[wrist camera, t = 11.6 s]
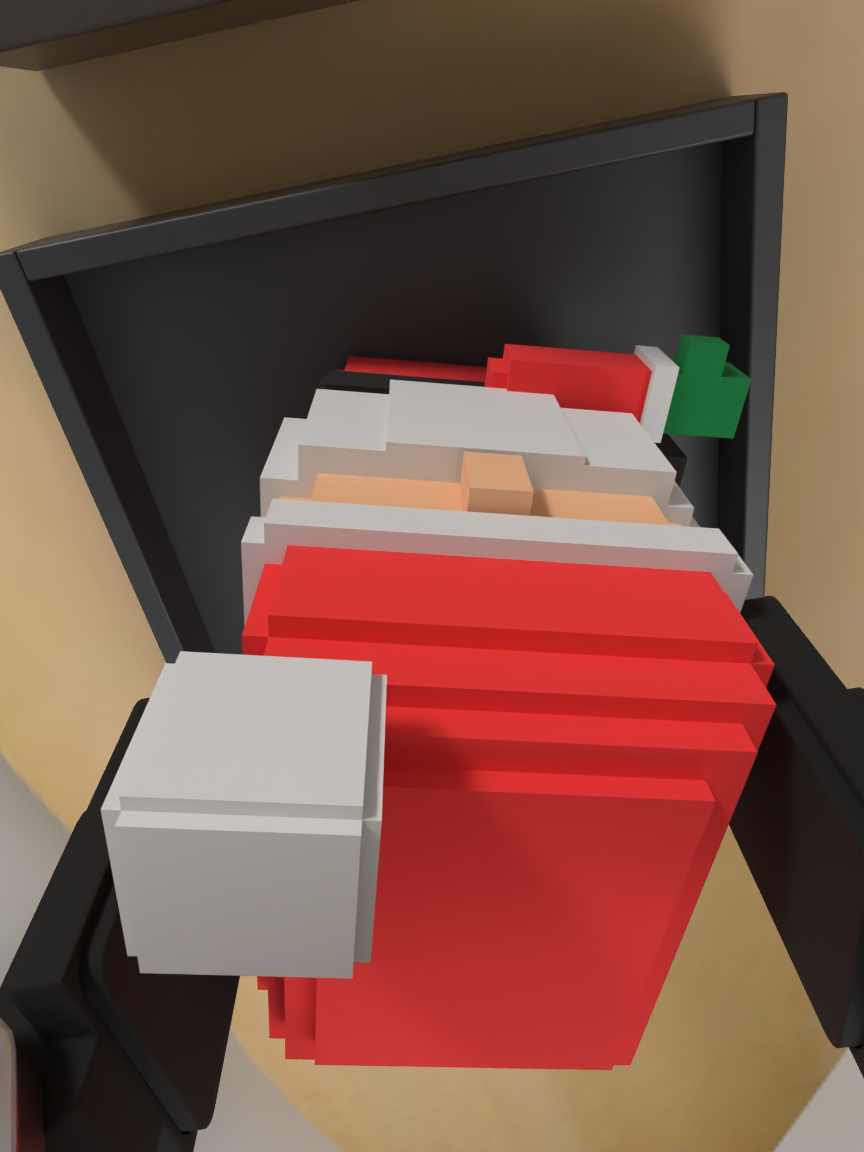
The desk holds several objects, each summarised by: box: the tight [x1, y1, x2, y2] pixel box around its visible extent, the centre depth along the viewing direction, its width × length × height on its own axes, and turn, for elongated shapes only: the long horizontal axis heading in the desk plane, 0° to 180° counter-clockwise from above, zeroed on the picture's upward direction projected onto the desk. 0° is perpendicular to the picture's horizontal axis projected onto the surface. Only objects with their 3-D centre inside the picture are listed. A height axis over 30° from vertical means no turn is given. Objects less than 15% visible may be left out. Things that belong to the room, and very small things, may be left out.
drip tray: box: [0, 92, 788, 664], centre depth 16 cm, size 13×13×2 cm
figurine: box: [101, 334, 776, 1070], centre depth 11 cm, size 8×7×12 cm
